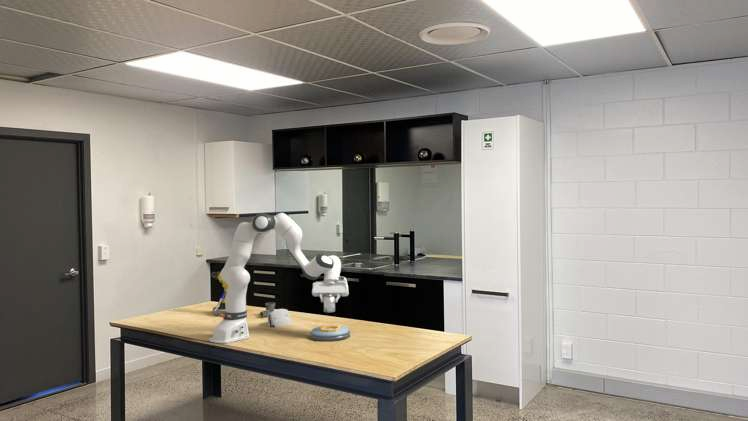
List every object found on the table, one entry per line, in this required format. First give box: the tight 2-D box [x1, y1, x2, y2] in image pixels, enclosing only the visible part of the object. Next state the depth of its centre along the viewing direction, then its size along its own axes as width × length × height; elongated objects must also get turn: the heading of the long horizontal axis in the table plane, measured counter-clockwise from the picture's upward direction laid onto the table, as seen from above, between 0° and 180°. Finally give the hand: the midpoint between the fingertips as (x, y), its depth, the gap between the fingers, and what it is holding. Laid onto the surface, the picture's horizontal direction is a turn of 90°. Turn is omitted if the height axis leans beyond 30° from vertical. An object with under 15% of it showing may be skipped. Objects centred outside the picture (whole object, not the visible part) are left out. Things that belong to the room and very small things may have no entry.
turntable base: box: [309, 329, 351, 343], centre depth 300 cm, size 22×22×2 cm
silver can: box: [323, 294, 336, 313], centre depth 299 cm, size 6×6×9 cm
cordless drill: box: [210, 271, 228, 317], centre depth 368 cm, size 18×19×28 cm
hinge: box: [266, 308, 294, 328], centre depth 333 cm, size 17×5×10 cm, turn 148°
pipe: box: [259, 301, 276, 318], centre depth 356 cm, size 6×13×8 cm, turn 152°
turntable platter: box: [311, 325, 349, 337], centre depth 300 cm, size 20×20×3 cm
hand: (329, 301), depth 299 cm, fingers closed on silver can, 6 cm apart
